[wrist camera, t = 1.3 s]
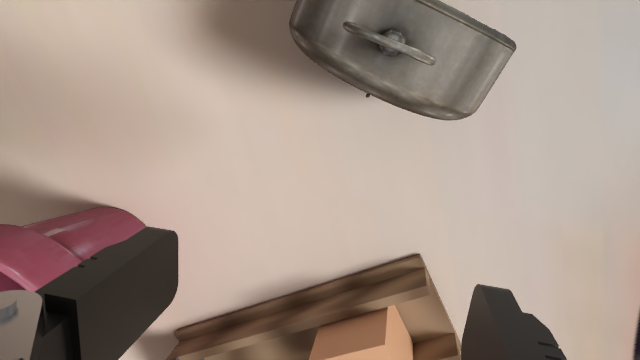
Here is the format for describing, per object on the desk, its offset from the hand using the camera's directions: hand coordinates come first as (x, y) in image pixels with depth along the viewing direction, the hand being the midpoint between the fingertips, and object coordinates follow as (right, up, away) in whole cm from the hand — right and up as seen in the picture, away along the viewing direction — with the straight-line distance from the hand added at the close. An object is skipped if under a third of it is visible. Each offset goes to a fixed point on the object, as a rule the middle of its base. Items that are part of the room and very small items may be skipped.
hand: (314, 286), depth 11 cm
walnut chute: (-1, -12, +26) cm, 28 cm away
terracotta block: (+4, -9, +24) cm, 26 cm away
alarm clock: (+5, +12, +17) cm, 21 cm away
